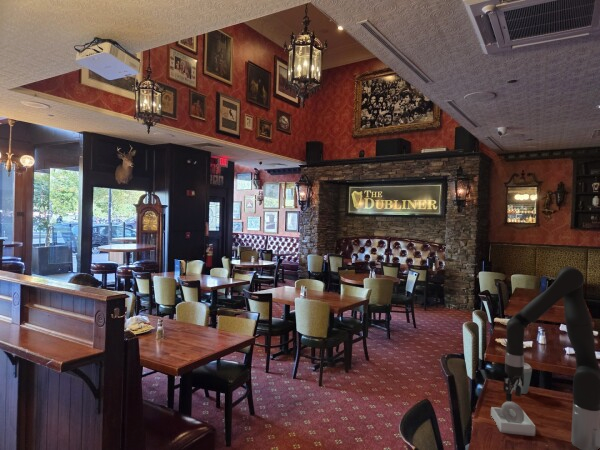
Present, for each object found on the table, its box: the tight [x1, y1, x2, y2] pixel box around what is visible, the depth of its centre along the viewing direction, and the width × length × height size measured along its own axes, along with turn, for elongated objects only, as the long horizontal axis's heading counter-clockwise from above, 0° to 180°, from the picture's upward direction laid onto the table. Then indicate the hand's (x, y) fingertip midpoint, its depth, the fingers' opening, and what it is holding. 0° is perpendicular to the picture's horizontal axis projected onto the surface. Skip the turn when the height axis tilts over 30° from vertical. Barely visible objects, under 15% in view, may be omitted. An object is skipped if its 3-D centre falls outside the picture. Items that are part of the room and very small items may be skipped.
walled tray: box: [490, 406, 536, 437], centre depth 179 cm, size 14×14×4 cm
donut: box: [500, 401, 524, 424], centre depth 179 cm, size 10×4×10 cm, turn 35°
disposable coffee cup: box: [513, 362, 533, 395], centre depth 214 cm, size 11×11×15 cm
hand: (513, 398), depth 178 cm, fingers open, 8 cm apart
